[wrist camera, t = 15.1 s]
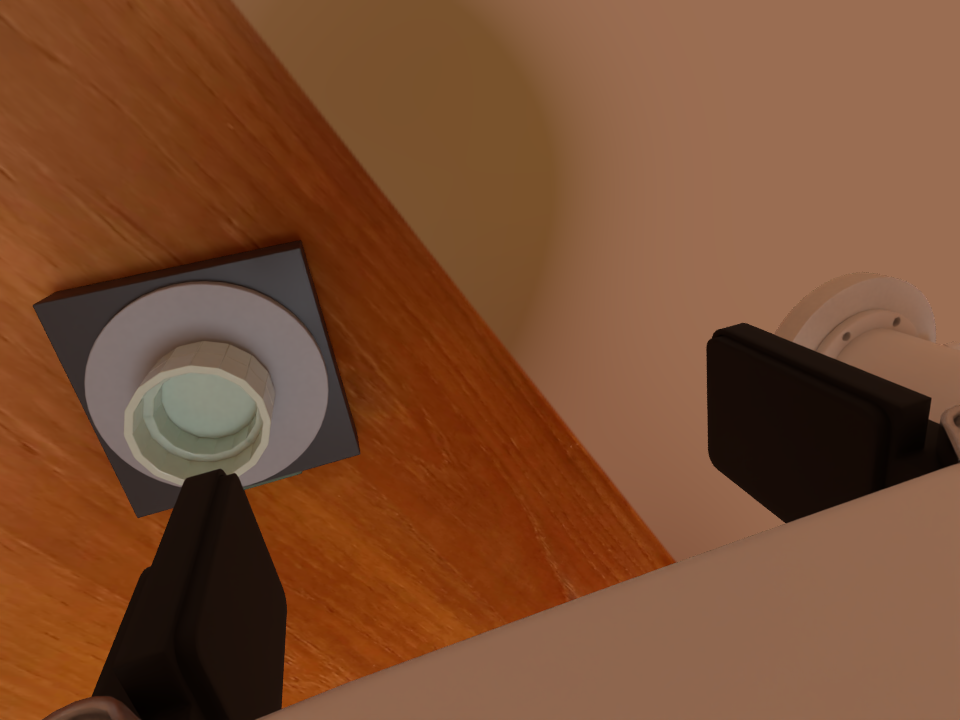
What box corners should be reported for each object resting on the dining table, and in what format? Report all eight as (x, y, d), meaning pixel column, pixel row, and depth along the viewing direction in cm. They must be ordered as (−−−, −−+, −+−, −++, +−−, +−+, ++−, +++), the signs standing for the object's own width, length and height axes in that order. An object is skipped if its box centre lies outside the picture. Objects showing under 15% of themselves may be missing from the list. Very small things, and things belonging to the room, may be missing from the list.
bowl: (254, 326, 33) (246, 351, 29) (289, 428, 35) (286, 465, 31) (127, 355, 31) (100, 386, 27) (173, 460, 34) (154, 502, 30)
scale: (301, 239, 35) (300, 249, 32) (359, 440, 41) (363, 466, 38) (55, 292, 33) (24, 308, 29) (152, 498, 38) (136, 532, 35)
